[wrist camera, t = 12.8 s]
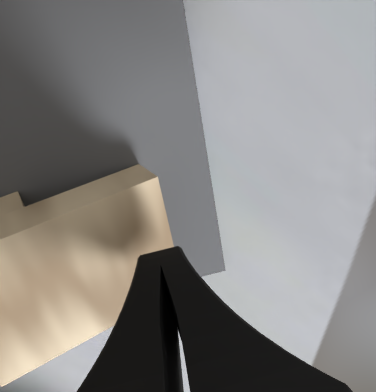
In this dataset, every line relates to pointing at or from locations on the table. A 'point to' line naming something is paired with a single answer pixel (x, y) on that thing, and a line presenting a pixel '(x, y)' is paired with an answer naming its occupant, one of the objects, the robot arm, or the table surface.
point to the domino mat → (106, 108)
